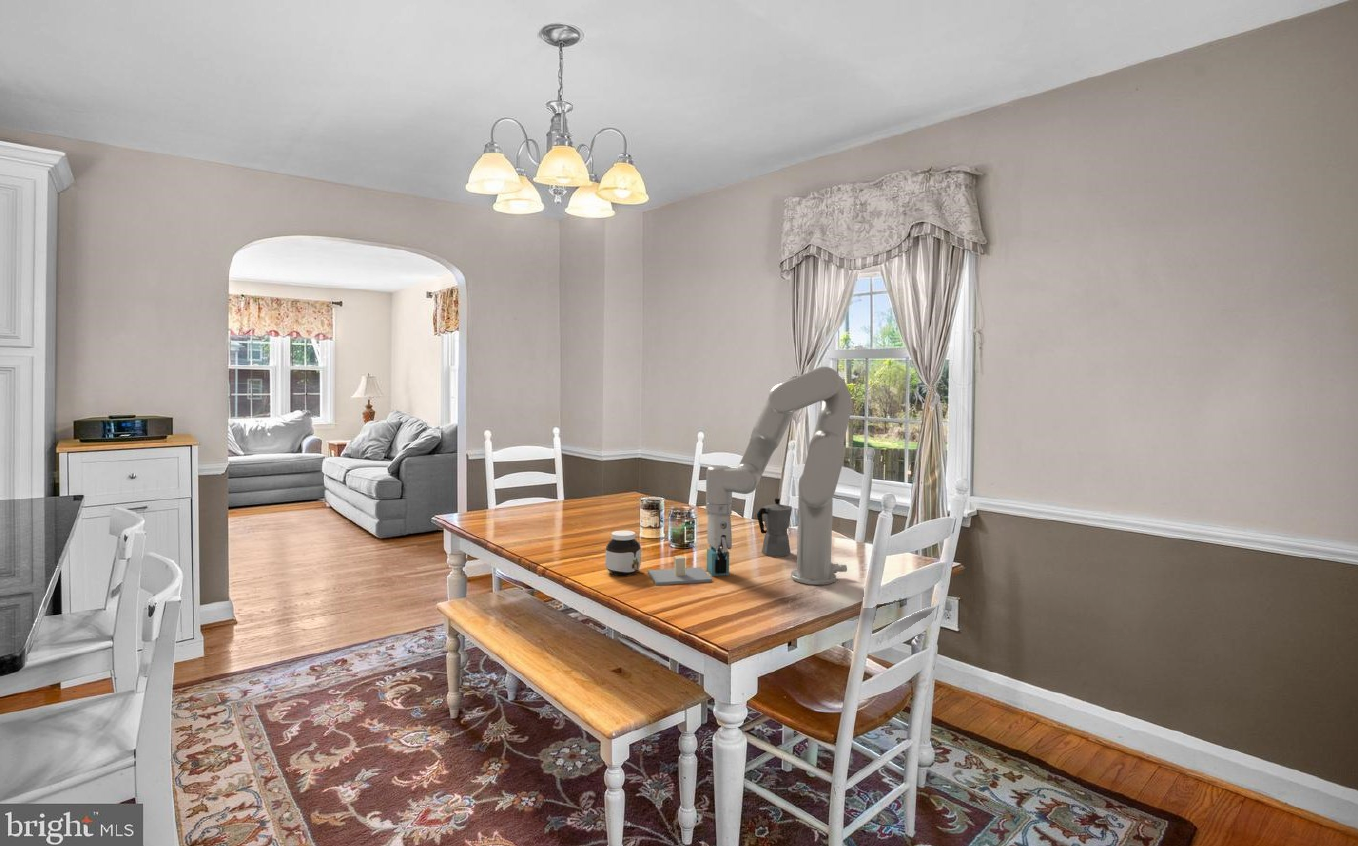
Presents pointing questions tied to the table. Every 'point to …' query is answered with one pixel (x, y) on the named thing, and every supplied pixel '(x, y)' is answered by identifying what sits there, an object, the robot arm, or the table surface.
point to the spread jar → (623, 554)
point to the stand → (679, 574)
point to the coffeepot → (775, 529)
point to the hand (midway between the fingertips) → (717, 569)
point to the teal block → (711, 562)
